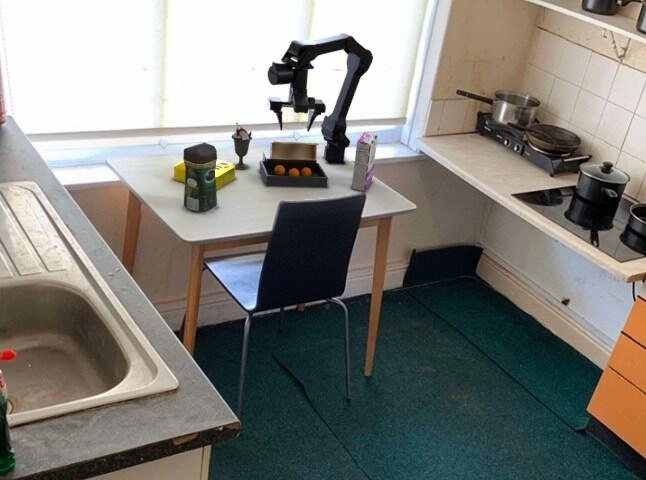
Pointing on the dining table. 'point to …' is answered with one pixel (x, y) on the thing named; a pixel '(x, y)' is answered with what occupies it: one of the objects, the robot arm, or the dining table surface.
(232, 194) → the dining table surface
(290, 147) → the wooden box
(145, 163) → the dining table surface
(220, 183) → the yellow flat box
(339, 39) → the robot arm
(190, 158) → the coffee jar
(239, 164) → the sundae
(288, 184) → the dark grey tray
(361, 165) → the candy bar box
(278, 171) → the orange ball
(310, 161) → the stand
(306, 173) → the orange ball
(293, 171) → the orange ball
